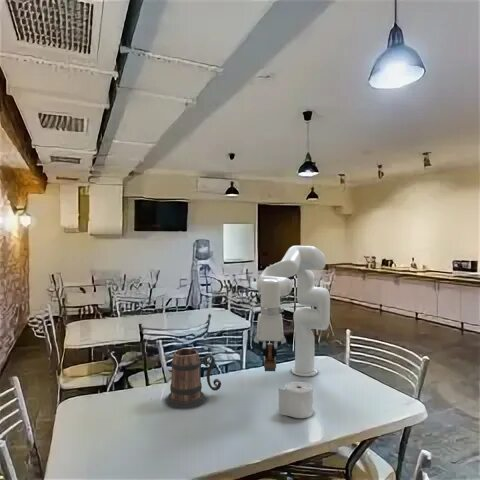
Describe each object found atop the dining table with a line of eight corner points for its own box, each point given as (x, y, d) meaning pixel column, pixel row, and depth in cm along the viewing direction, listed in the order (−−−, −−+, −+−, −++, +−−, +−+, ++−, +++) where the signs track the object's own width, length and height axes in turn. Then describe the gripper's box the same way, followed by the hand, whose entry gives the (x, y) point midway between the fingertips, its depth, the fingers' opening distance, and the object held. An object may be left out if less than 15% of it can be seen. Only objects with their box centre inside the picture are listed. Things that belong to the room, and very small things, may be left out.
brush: (263, 362, 165) (263, 339, 165) (274, 362, 165) (275, 340, 164) (264, 371, 154) (264, 348, 154) (276, 372, 154) (276, 348, 153)
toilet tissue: (318, 412, 159) (318, 386, 158) (300, 422, 150) (300, 396, 150) (295, 403, 166) (295, 379, 166) (277, 413, 157) (277, 388, 157)
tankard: (169, 411, 158) (169, 360, 158) (161, 394, 174) (161, 348, 173) (227, 402, 167) (227, 354, 166) (214, 387, 183) (214, 342, 182)
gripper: (290, 309, 162) (289, 355, 163) (249, 308, 163) (249, 354, 163) (291, 313, 154) (291, 361, 155) (249, 312, 155) (248, 360, 156)
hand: (269, 357), depth 159 cm, fingers closed on brush, 2 cm apart
